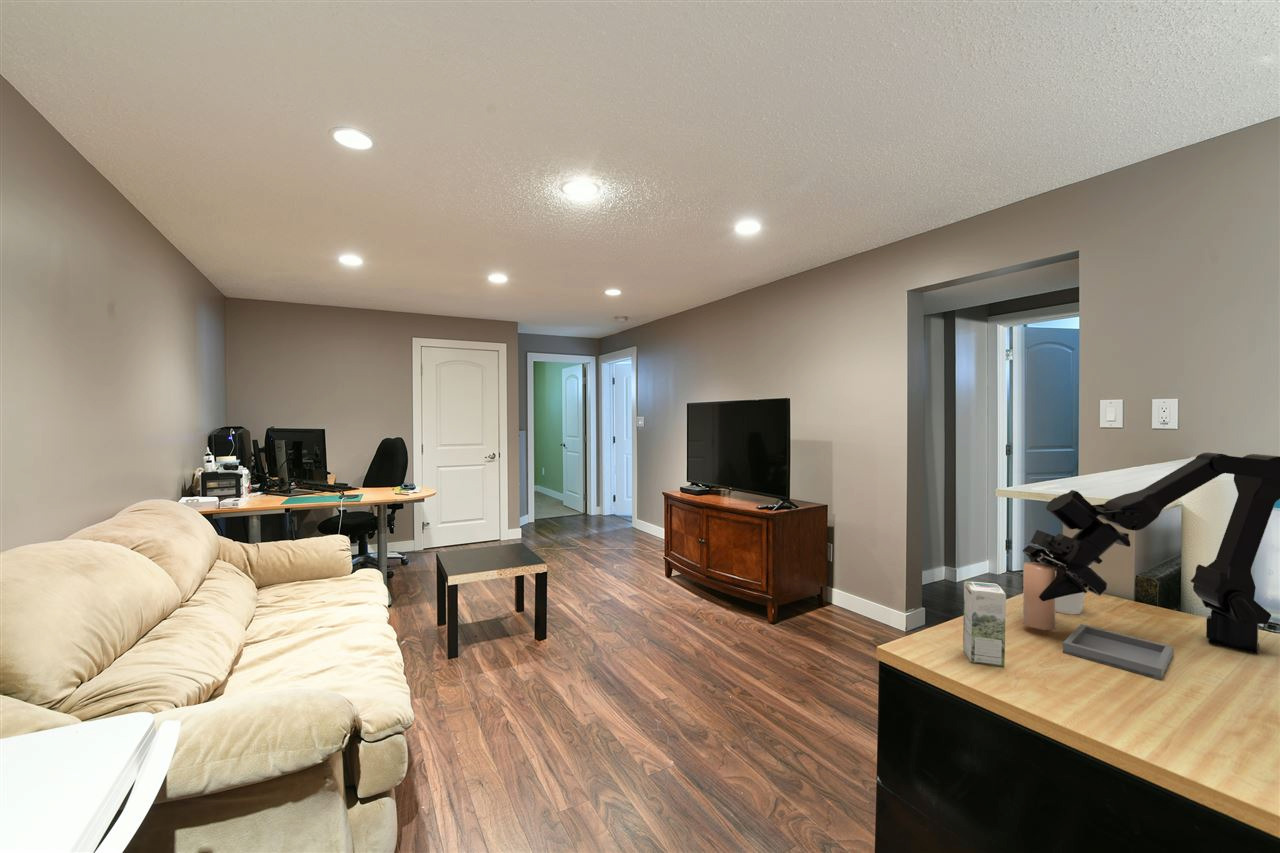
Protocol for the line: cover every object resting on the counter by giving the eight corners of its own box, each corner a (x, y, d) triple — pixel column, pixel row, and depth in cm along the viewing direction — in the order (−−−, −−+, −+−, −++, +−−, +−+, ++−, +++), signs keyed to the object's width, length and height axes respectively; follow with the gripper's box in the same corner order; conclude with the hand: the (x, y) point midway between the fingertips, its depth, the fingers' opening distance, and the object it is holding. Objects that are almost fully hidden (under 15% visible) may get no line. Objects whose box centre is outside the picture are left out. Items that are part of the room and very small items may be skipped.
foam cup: (1100, 616, 121) (1101, 561, 121) (1060, 617, 121) (1060, 561, 121) (1067, 601, 130) (1068, 550, 130) (1030, 602, 131) (1030, 550, 130)
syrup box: (995, 654, 103) (996, 582, 103) (1005, 668, 98) (1006, 592, 97) (962, 650, 105) (963, 579, 105) (970, 663, 100) (971, 589, 99)
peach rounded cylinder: (1058, 625, 113) (1058, 566, 113) (1050, 632, 110) (1051, 571, 109) (1027, 617, 117) (1028, 560, 117) (1019, 624, 114) (1019, 565, 113)
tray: (1173, 656, 101) (1173, 646, 101) (1161, 680, 93) (1161, 669, 93) (1081, 633, 112) (1081, 624, 112) (1062, 652, 104) (1063, 642, 104)
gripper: (1031, 510, 121) (981, 556, 123) (1091, 528, 103) (1030, 582, 105) (1068, 544, 121) (1017, 590, 122) (1134, 568, 102) (1073, 622, 104)
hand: (1032, 594), depth 113 cm, fingers closed on peach rounded cylinder, 5 cm apart
